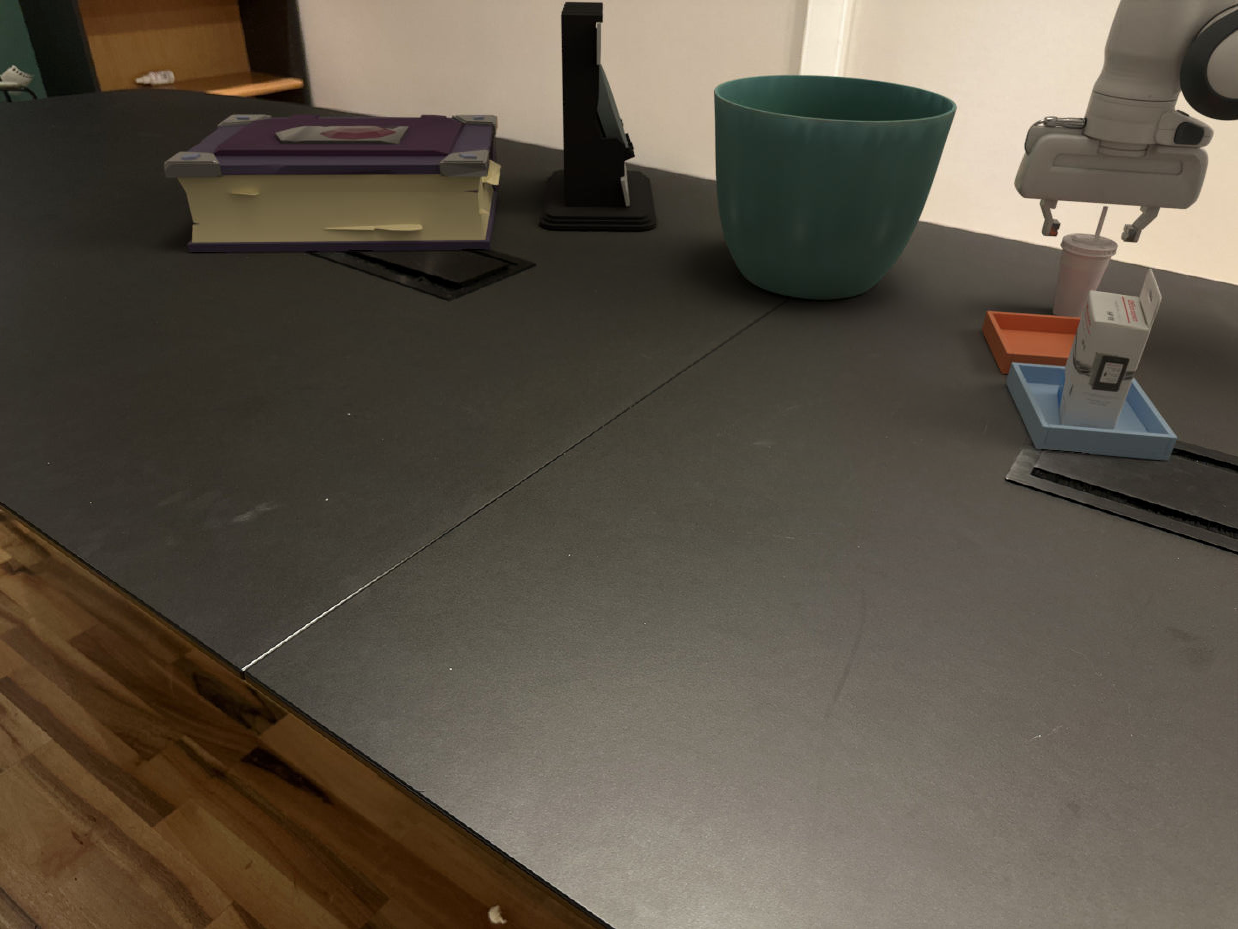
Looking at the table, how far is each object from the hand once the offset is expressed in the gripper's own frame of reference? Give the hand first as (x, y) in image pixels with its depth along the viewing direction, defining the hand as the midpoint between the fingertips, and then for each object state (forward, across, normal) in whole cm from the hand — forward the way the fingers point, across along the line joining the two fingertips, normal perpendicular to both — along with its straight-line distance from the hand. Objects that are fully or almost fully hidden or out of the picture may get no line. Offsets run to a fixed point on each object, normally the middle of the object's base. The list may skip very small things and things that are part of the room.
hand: (1088, 238), depth 111 cm
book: (+12, -104, +20) cm, 106 cm away
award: (+11, -68, +36) cm, 77 cm away
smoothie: (+10, 0, 0) cm, 10 cm away
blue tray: (+10, -6, -29) cm, 31 cm away
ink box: (+10, -6, -29) cm, 31 cm away
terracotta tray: (+10, -6, -14) cm, 18 cm away
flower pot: (+11, -32, +7) cm, 35 cm away
